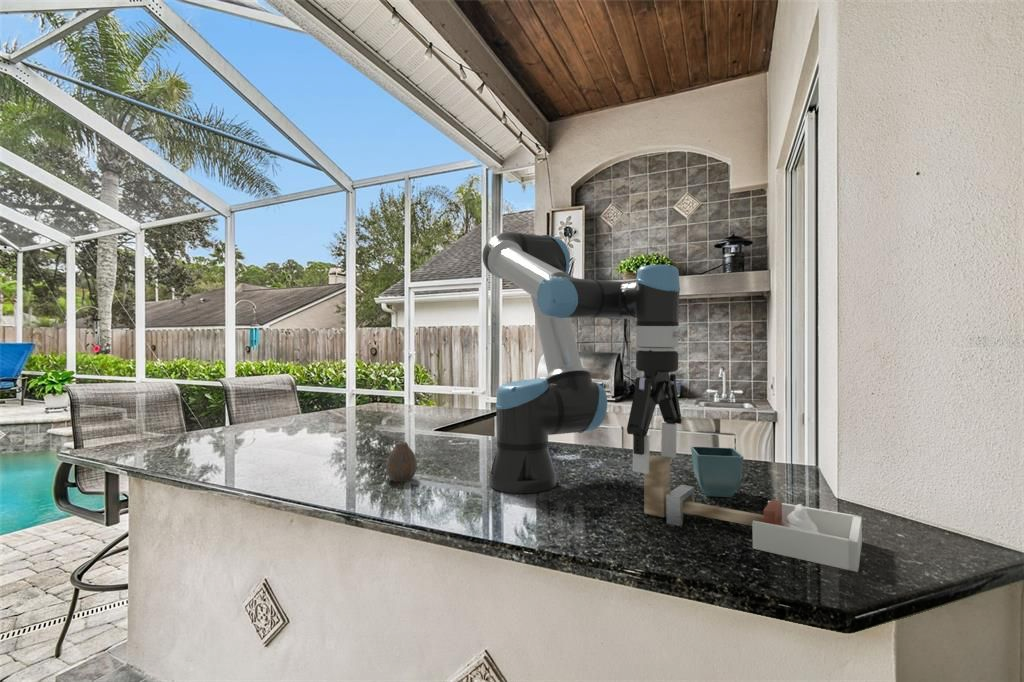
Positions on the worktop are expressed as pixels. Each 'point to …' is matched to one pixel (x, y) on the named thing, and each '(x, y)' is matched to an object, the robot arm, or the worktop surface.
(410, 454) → the brown egg shape
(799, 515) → the whipped cream swirl
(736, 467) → the flower pot
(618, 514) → the worktop surface
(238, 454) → the worktop surface
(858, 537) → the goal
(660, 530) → the worktop surface
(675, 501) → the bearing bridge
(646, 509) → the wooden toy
